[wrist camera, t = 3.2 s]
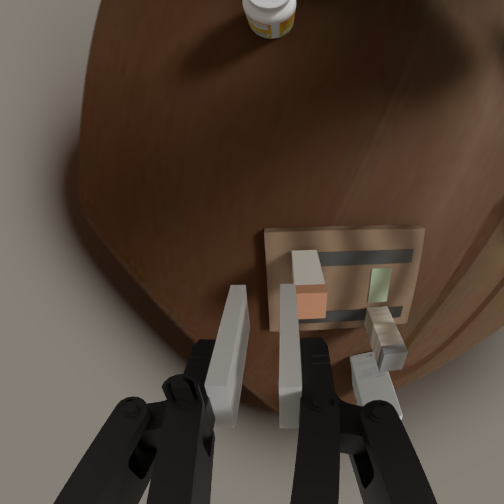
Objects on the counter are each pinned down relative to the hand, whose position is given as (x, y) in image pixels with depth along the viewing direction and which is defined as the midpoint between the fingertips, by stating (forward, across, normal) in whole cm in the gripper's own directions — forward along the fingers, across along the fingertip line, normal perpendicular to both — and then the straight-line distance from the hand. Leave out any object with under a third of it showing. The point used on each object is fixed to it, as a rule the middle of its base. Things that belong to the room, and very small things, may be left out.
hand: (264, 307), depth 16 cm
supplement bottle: (+25, +1, +22) cm, 33 cm away
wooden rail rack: (+24, +10, -13) cm, 29 cm away
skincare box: (+25, +16, -32) cm, 43 cm away
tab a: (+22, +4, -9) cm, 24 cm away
